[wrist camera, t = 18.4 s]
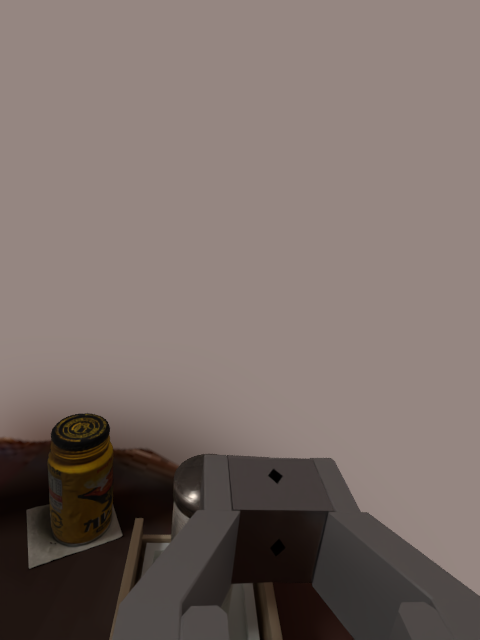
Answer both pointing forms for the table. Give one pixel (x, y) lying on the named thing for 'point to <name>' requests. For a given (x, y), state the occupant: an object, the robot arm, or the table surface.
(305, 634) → the table surface
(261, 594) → the housing
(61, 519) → the condiment
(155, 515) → the table surface
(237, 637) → the tray
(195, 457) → the canister
